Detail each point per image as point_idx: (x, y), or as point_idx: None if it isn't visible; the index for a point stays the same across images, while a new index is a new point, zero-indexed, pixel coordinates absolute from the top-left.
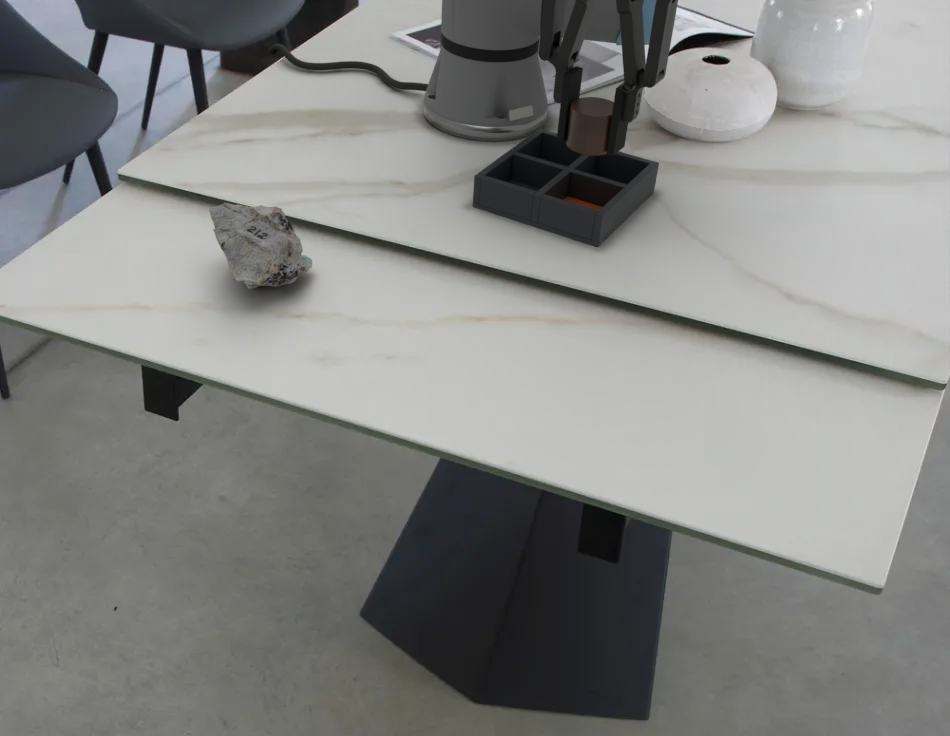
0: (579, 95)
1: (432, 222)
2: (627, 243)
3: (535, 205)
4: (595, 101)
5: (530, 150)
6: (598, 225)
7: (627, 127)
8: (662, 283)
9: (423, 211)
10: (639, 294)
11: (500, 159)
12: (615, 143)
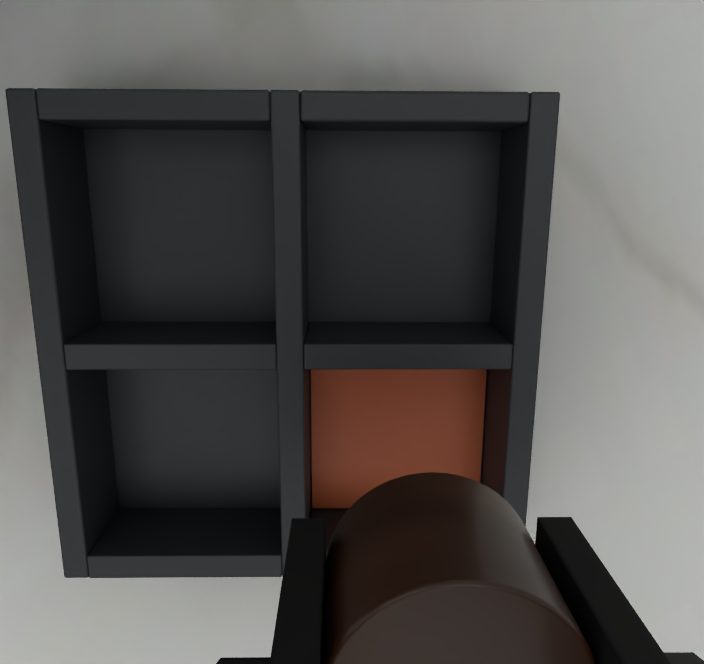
0: (318, 642)
1: (75, 641)
2: (557, 455)
3: None
4: (433, 654)
5: (67, 218)
6: None
7: (608, 573)
8: (698, 576)
9: (19, 610)
10: (661, 645)
11: (58, 432)
12: None
